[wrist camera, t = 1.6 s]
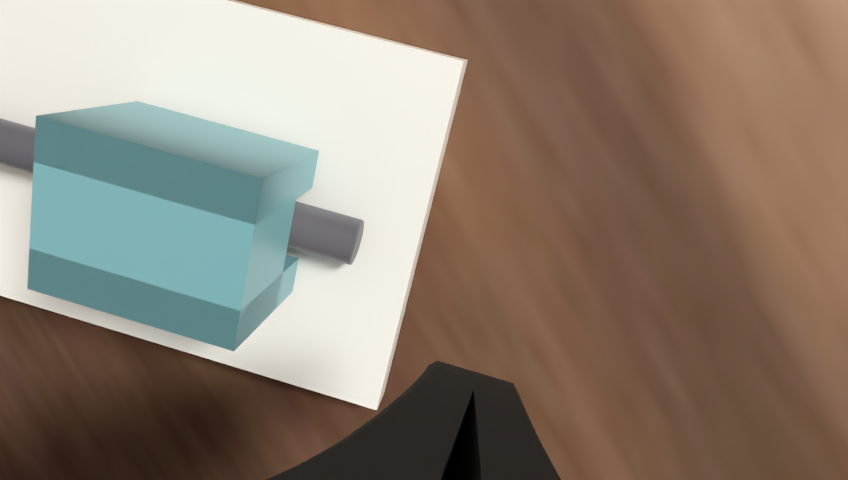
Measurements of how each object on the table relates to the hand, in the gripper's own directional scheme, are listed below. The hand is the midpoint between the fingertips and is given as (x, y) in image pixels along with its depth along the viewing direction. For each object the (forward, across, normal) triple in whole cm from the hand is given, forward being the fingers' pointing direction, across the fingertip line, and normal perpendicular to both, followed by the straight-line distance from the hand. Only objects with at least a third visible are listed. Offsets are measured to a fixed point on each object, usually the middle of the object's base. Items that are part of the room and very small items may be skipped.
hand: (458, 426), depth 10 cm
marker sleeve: (+7, +8, 0) cm, 10 cm away
